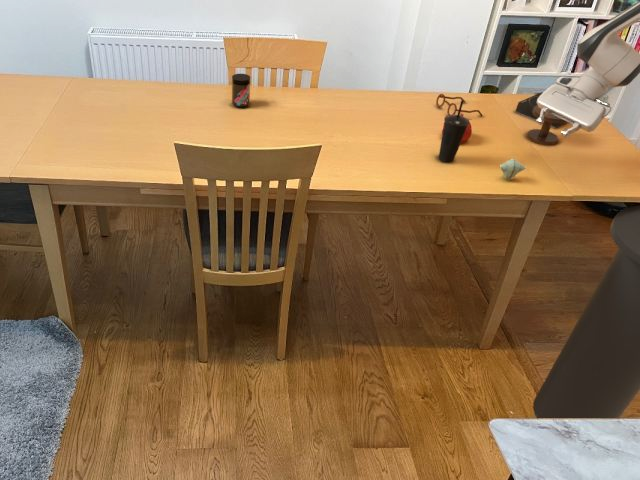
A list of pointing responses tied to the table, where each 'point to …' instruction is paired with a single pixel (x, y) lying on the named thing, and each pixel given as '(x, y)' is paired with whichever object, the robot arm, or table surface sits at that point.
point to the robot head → (511, 168)
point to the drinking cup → (452, 135)
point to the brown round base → (544, 129)
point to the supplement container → (240, 90)
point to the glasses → (453, 104)
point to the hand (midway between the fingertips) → (550, 129)
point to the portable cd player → (531, 108)
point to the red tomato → (467, 132)
